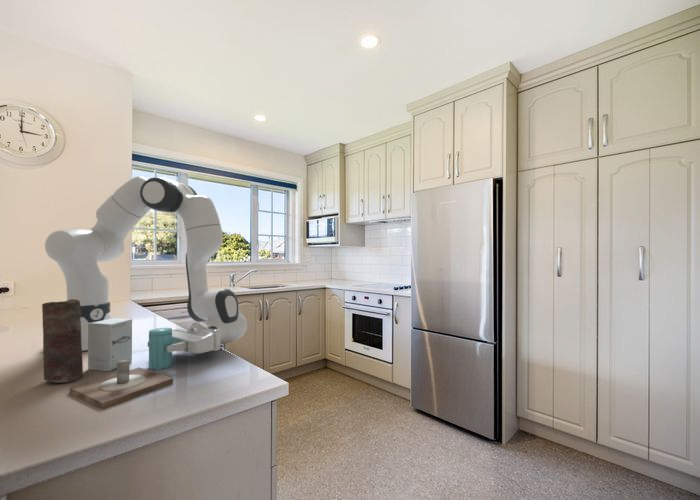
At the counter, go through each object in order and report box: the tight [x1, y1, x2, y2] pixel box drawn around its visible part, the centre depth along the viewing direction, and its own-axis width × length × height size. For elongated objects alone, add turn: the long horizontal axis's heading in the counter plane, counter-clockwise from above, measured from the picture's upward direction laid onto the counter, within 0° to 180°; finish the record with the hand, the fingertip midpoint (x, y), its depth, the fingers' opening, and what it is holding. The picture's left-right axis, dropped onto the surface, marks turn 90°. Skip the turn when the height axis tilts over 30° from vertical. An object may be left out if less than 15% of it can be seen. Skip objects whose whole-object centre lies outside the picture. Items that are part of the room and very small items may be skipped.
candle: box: [41, 299, 84, 384], centre depth 83 cm, size 8×7×20 cm
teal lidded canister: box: [148, 327, 173, 370], centre depth 93 cm, size 6×6×10 cm
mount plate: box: [69, 360, 174, 409], centre depth 78 cm, size 15×15×6 cm
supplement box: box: [87, 317, 133, 372], centre depth 93 cm, size 7×7×13 cm
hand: (157, 346), depth 92 cm, fingers open, 7 cm apart
